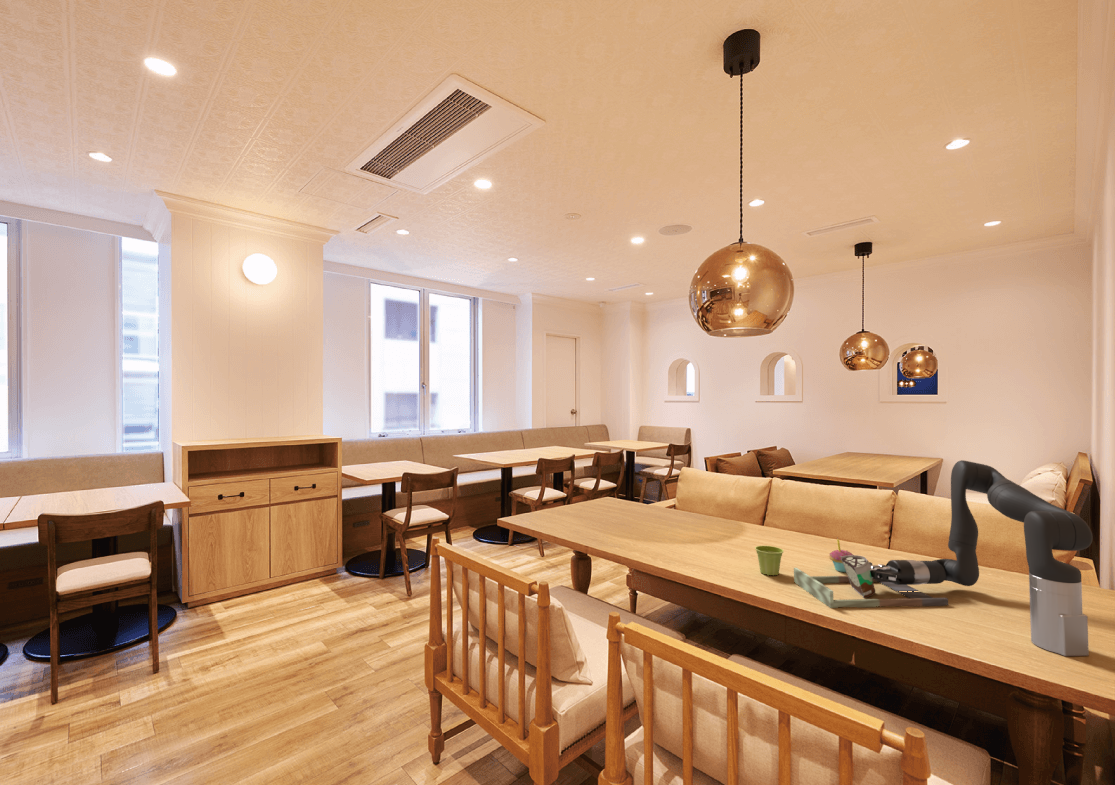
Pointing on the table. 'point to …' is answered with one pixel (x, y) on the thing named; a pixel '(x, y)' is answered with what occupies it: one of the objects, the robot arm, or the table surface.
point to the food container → (859, 574)
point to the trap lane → (826, 596)
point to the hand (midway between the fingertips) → (854, 572)
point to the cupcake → (839, 558)
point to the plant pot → (769, 559)
